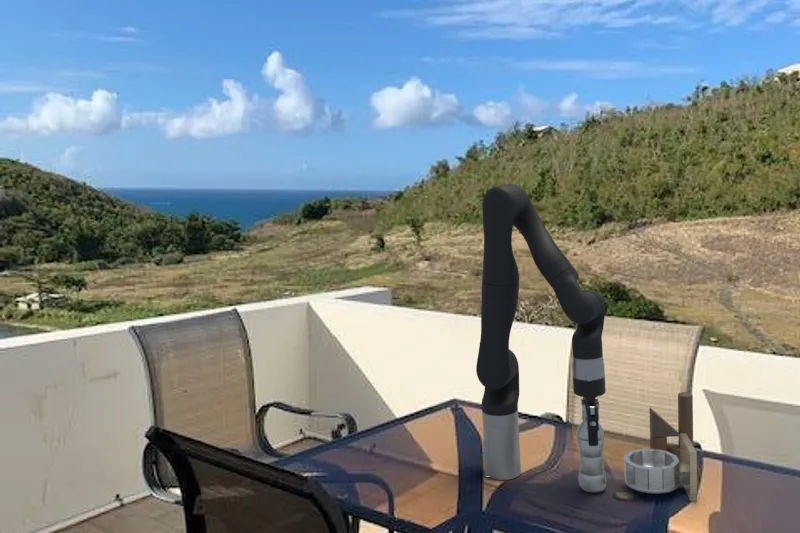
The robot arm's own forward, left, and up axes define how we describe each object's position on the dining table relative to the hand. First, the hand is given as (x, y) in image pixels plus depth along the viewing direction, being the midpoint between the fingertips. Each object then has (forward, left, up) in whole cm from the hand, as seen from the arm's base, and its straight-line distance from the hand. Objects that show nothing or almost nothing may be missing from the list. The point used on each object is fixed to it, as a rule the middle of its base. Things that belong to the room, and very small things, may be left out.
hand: (591, 438), depth 192 cm
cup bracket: (+15, 0, -13) cm, 20 cm away
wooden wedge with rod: (+22, +18, -13) cm, 31 cm away
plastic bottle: (0, 0, -13) cm, 13 cm away
